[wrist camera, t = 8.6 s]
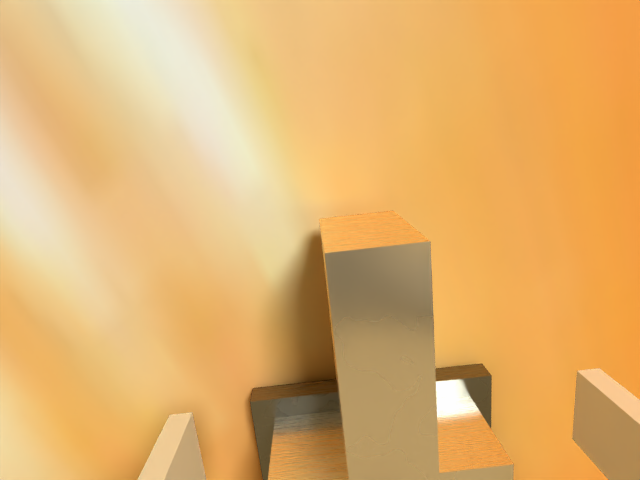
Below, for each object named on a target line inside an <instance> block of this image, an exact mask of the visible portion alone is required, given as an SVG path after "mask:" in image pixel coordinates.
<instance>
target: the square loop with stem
mask: <svg viewBox="0 0 640 480" xmlns="http://www.w3.org/2000/svg"><path fill="white" fill-rule="evenodd" d="M319 223H320V232H321V241H322V250H323V260H324V269H325V278H326V287H327V296H328V305H329V315H330V324H331V333H332V342H333V351H334V361H335V370H336V379H337V388H338V397H339V407H340V410H339V411H331V412H322V413H313V414H304V415H296V416H287V417H278V418H275V421H274V430H273V439H272V447H271V456H270V465H269V474H268V480H513V465H514V464H513V463H512V461H511V460H510V458H509V457H508V455H507V453H506V452H505V450H504V449H503V447H502V446H501V444H500V442H499V441H498V439H497V438H496V436H495V435H494V433H493V431H492V430H491V428H490V427H489V425H488V424H487V422H486V420H485V419H484V417H483V416H482V414H481V413H480V411H479V409H478V408H477V406H476V405H475V403H474V402H473V400H472V398H471V397H470V396H462V397H453V398H445V399H436V373H435V347H434V321H433V295H432V270H431V244H430V241H429V240H428V239H427V238H426V237H425V236H423V235H422V234H421V233H420V232H418V231H417V230H416V229H415V228H414V227H412V226H411V225H410V224H409V223H408V222H406V221H405V220H404V219H403V218H401V217H400V216H399V215H398V214H397V213H395V212H394V211H384V212H375V213H366V214H357V215H348V216H339V217H330V218H321V219H319Z"/></svg>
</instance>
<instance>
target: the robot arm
mask: <svg viewBox="0 0 640 480" xmlns="http://www.w3.org/2000/svg"><path fill="white" fill-rule="evenodd" d="M572 439H573V440H574V441H575V442H576V444H577V445H578V446H579V447H580V448H581V449H582V450H583V451H584V453H585V454H586V455H587V456H588V457H589V458H590V459H591V460H592V462H593V463H594V464H595V465H596V466H597V467H598V468H599V469H600V471H601V472H602V473H603V474H604V475H605V476H606V477H607V478H608V480H640V400H639V399H638V398H637V397H635V396H634V395H633V394H631V393H630V392H629V391H628V390H626V389H625V388H624V387H623V386H621V385H620V384H619V383H617V382H616V381H615V380H614V379H612V378H611V377H610V376H608V375H607V374H606V373H605V372H603V371H602V370H601V369H599V368H598V369H589V370H580V371H577V379H576V394H575V408H574V423H573V438H572ZM138 480H206V476H205V471H204V466H203V461H202V456H201V452H200V447H199V442H198V437H197V432H196V428H195V423H194V418H193V413H192V412H191V413H181V414H172V415H169V417H168V419H167V421H166V423H165V425H164V427H163V429H162V431H161V433H160V435H159V437H158V439H157V441H156V443H155V445H154V447H153V449H152V452H151V454H150V456H149V458H148V460H147V462H146V464H145V466H144V468H143V470H142V472H141V474H140V476H139V478H138Z"/></svg>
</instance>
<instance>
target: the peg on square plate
mask: <svg viewBox="0 0 640 480" xmlns="http://www.w3.org/2000/svg"><path fill="white" fill-rule="evenodd" d="M435 373H436V399H445V398H453V397H462V396H470V397H471V398H472V400H473V402H474V403H475V405H476V406H477V408H478V409H479V411H480V413H481V414H482V416H483V417H484V419H485V420H486V422H487V424H488V425H489V427H490V428H491V374H490V373H489V372H488V371H487V369H486V368H485V367H484V366H483V364H474V365H465V366H456V367H446V368H437V369H435ZM250 404H251V410H252V416H253V422H254V429H255V435H256V441H257V447H258V453H259V459H260V465H261V471H262V477H263V480H268V474H269V465H270V456H271V447H272V439H273V430H274V421H275V418H278V417H287V416H296V415H304V414H313V413H322V412H331V411H339V410H340V407H339V397H338V388H337V379H335V380H326V381H316V382H307V383H298V384H289V385H279V386H270V387H261V388H253V390H252V395H251V400H250Z"/></svg>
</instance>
